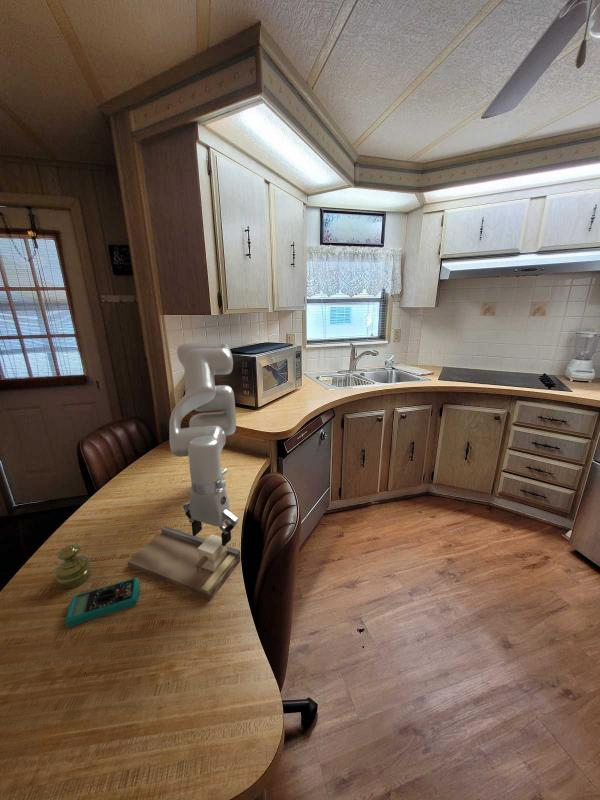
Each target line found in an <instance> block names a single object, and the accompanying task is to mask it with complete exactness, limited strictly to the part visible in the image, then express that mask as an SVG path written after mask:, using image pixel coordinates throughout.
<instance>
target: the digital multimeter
mask: <svg viewBox="0 0 600 800" xmlns="http://www.w3.org/2000/svg"><path fill="white" fill-rule="evenodd" d="M140 593H141V589H140V583H139V578H138V577H135V578H134V577H133V578H130V579H127V580H124V581H120V582H118V583H114V584H111V585H107V586H103V587H100V588H96V589H93V590H89V591H85V592H81V593H79V594H75V595H73V596H72V598H71V600H70V602H69V605H68V609H67V612H66V616H65V624H66V628H70V627H71V628H72V627H73V626H74V627H75V626H77V625H79V624H82V623H85V622H89V621H91V620H94V619H97V618H101V617H102V616H105V615H109V614H113V613H117V612H119V611H122V610H125V609H130V608H133V607H135V606H137V604H138V601H139V598H140V596H141V595H140Z"/></svg>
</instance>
